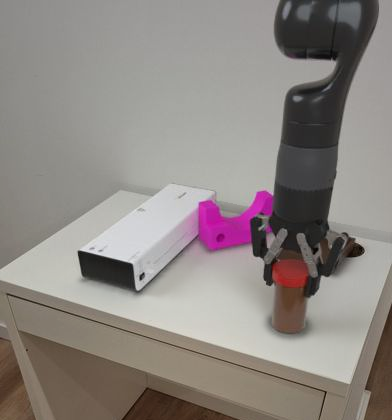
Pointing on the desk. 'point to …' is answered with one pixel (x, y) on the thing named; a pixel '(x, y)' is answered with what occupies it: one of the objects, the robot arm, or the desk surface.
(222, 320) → the desk surface
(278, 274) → the lid
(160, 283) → the desk surface
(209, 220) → the toy block
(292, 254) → the tray
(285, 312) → the jar
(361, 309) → the desk surface
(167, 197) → the laminator
